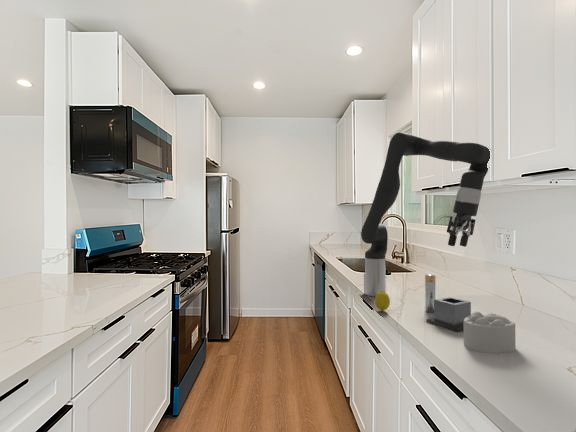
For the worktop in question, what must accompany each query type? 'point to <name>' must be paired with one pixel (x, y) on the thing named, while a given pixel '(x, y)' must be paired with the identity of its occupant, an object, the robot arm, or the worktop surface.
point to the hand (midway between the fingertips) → (457, 245)
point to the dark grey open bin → (450, 313)
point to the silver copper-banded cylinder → (429, 292)
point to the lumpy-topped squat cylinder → (489, 333)
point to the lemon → (382, 300)
